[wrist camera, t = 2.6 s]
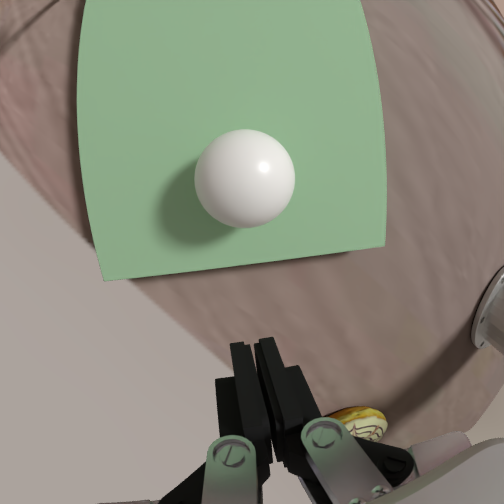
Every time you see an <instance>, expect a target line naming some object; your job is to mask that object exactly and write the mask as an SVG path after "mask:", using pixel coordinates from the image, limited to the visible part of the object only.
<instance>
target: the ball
mask: <svg viewBox="0 0 504 504" xmlns="http://www.w3.org/2000/svg"><path fill="white" fill-rule="evenodd" d="M194 183H195V190H196V193H197V196H198V199H199V201H200V203H201V204H202V206H203V207H204V209H205V210H206V211H207V212H208V213H209V214H210V215H211V216H212V217H213V218H215V219H216V220H218V221H219V222H221V223H223V224H225V225H228V226H231V227H236V228H253V227H258V226H261V225H264V224H266V223H268V222H270V221H272V220H273V219H275V218H276V217H277V216H278V215H279V214H280V213H281V212H282V211H283V210H284V209H285V208H286V206H287V205H288V203H289V201H290V199H291V197H292V194H293V191H294V186H295V171H294V166H293V163H292V160H291V158H290V156H289V154H288V153H287V151H286V150H285V148H284V147H283V146H282V145H281V144H280V143H279V142H278V141H277V140H275V139H274V138H273V137H271V136H269V135H267V134H265V133H263V132H260V131H256V130H250V129H240V130H233V131H230V132H227V133H225V134H222V135H220V136H219V137H217V138H215V139H214V140H213V141H212V142H211V143H210V144H209V145H208V146H207V147H206V148H205V149H204V151H203V152H202V154H201V155H200V157H199V159H198V162H197V165H196V169H195V176H194Z"/></svg>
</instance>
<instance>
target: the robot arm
mask: <svg viewBox="0 0 504 504" xmlns="http://www.w3.org/2000/svg"><path fill="white" fill-rule="evenodd" d="M471 340H472V343H473V344H474V345H475V346H476V347H477V348H479V349H483V348H486V347H488V346H489V345H492V346H494V347H495V348H496V349H497V350H498V351H499V352H500V353H502V354H503V355H504V267H503V268H502V269H501V270H500V271H499V272H498V273H497V275H496V276H495V277H494V279H493V280H492V282H491V284H490V285H489V287H488V289H487V291H486V292H485V294H484V296H483V298H482V300H481V303H480V305H479V307H478V310H477V312H476V315H475V318H474V322H473V326H472V332H471ZM230 349H231V356H232V363H233V370H234V376H233V377H226V378H218V379H215V387H216V399H217V411H218V422H219V432H220V438H219V439H217V440H216V441H214V442H213V443H212V444H211V445H210V447H209V449H208V452H207V459H206V462H205V463H204V464H203V465H201V466H200V467H199V468H198V469H197V470H196V471H195V472H193V473H192V474H191V475H190V476H189V477H188V478H186V479H185V480H184V481H183V482H182V483H180V484H179V485H178V486H177V487H175V488H174V489H173V490H172V491H170V492H169V493H168V494H167V495H165V496H164V497H163V498H162V499H161V500H157V501H150V500H142V501H132V502H117V503H99V504H263V493H262V485H263V483H264V482H265V481H266V480H267V479H268V478H269V477H270V467H269V464H271V463H273V458H272V444H273V448H274V452H275V456H276V459H277V462H281V461H283V464H284V467H287V468H288V472H290V473H292V474H294V475H297V476H298V478H299V480H300V482H301V484H302V486H303V488H304V489H305V491H306V493H307V495H308V497H309V498H310V500H311V502H312V504H504V438H494V439H490V440H486V441H483V442H480V443H478V444H475V445H473V446H471V443H470V441H469V439H468V437H467V436H466V435H465V434H464V433H462V432H458V431H456V432H451V433H448V434H445V435H443V436H440V437H437V438H434V439H431V440H428V441H425V442H421V443H418V444H415V445H411V446H410V448H407V449H401V448H398V447H393V446H389V445H385V444H381V443H377V442H374V441H370V440H366V439H363V438H359V437H356V436H353V435H351V433H350V432H349V431H348V429H347V428H346V427H345V425H344V424H343V423H341V422H340V421H339V420H336V419H334V418H329V417H322V416H321V413H320V411H319V409H318V407H317V404H316V402H315V400H314V398H313V395H312V393H311V391H310V389H309V386H308V384H307V382H306V380H305V377H304V375H303V373H302V371H301V369H300V367H299V366H298V365H296V366H291V367H286V368H285V367H284V364H283V362H282V359H281V356H280V354H279V351H278V348H277V346H276V343H275V340H274V338H273V337H268V338H262V339H259V343H255V344H254V349H255V359H256V367H255V363H254V359H253V355H252V351H251V347H250V344H248V345H244V342H237V343H230ZM256 368H257V371H256ZM271 440H272V444H271Z"/></svg>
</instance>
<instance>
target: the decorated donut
mask: <svg viewBox="0 0 504 504" xmlns="http://www.w3.org/2000/svg"><path fill="white" fill-rule="evenodd" d="M328 417H329V418H334V419H336V420H339V421H340V422H341V423H343V424H344V425H345V427H346V428H347V429H348V431H349V432H350V433H351V435H353V436H356V437H359V438H363V439H366V440H370V441H374V442H378V441H379V440H380V439H381V438H382V436H383V435H384V433H385V431H386V429H387V425H388V423H387V422H386V418H385V417H384V415H383V414H382V413H381V412H380V411H377V410H376V409H372V408H370V407H365V406H357V407H351V408H345V409H343V410H341V411H338V412H336V413H335V414H333V415H330V416H328Z"/></svg>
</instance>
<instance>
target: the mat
mask: <svg viewBox="0 0 504 504" xmlns="http://www.w3.org/2000/svg"><path fill="white" fill-rule="evenodd" d="M77 125H78V142H79V154H80V164H81V172H82V180H83V187H84V194H85V200H86V206H87V212H88V217H89V222H90V227H91V232H92V236H93V241H94V245H95V249H96V253H97V257H98V261H99V265H100V268H101V272H102V276H103V279H104V281H111V280H121V279H130V278H139V277H147V276H156V275H165V274H173V273H182V272H190V271H199V270H207V269H215V268H223V267H231V266H239V265H247V264H255V263H263V262H271V261H278V260H286V259H294V258H301V257H309V256H316V255H324V254H331V253H338V252H345V251H353V250H360V249H367V248H374V247H381V246H385V235H386V207H387V178H386V151H385V135H384V123H383V113H382V104H381V96H380V89H379V82H378V76H377V70H376V64H375V59H374V54H373V49H372V44H371V40H370V35H369V31H368V27H367V23H366V19H365V16H364V12H363V8H362V5H361V2H360V0H86V3H85V8H84V14H83V20H82V27H81V35H80V44H79V55H78V71H77ZM240 129H250V130H256V131H260V132H263V133H265V134H267V135H269V136H271V137H273V138H274V139H275V140H277V141H278V142H279V143H280V144H281V145H282V146H283V147H284V148H285V150H286V151H287V153H288V154H289V156H290V158H291V160H292V163H293V166H294V171H295V186H294V191H293V194H292V197H291V199H290V201H289V203H288V205H287V206H286V208H285V209H284V210H283V211H282V212H281V213H280V214H279V215H278V216H277V217H276V218H275V219H273V220H272V221H270V222H268V223H266V224H264V225H261V226H258V227H253V228H236V227H231V226H228V225H225V224H223V223H221V222H219V221H218V220H216V219H215V218H213V217H212V216H211V215H210V214H209V213H208V212H207V211H206V210H205V209H204V207H203V206H202V204H201V203H200V201H199V199H198V196H197V193H196V190H195V183H194V176H195V169H196V165H197V162H198V159H199V157H200V155H201V154H202V152H203V151H204V149H205V148H206V147H207V146H208V145H209V144H210V143H211V142H212V141H213V140H214V139H215V138H217V137H219V136H220V135H222V134H225V133H227V132H230V131H233V130H240Z"/></svg>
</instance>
